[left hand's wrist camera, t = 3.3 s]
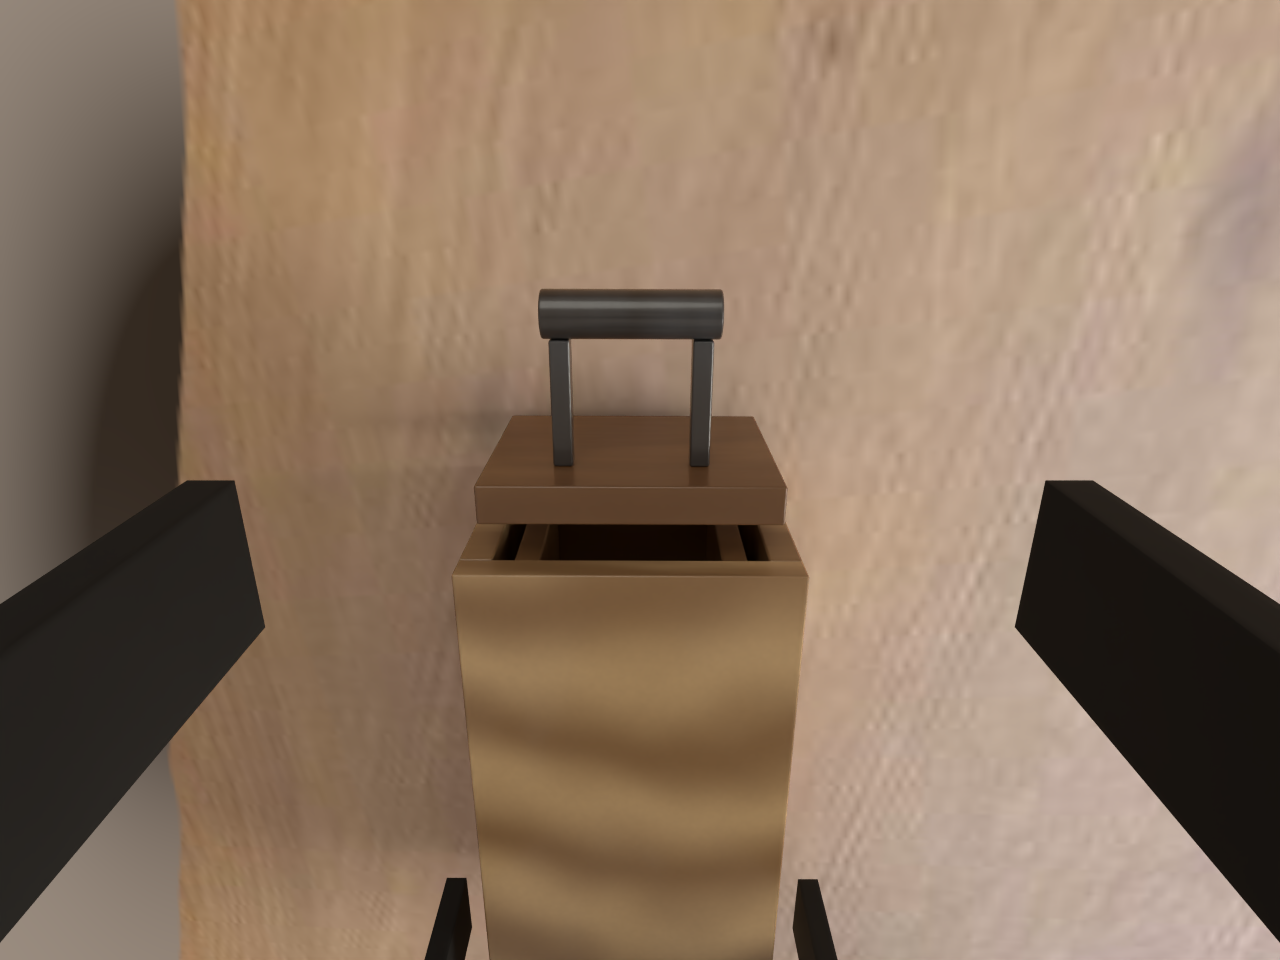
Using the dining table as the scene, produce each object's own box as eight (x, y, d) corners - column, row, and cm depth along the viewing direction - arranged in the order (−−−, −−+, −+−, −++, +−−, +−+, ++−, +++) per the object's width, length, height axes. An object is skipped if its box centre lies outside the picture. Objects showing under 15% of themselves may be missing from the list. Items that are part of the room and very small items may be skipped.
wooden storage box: (504, 464, 30) (450, 575, 21) (762, 465, 30) (809, 576, 21) (530, 860, 37) (498, 1056, 29) (736, 861, 37) (763, 1057, 29)
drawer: (503, 269, 26) (457, 298, 20) (762, 270, 26) (803, 299, 19) (536, 820, 35) (512, 966, 28) (729, 821, 35) (749, 966, 28)
